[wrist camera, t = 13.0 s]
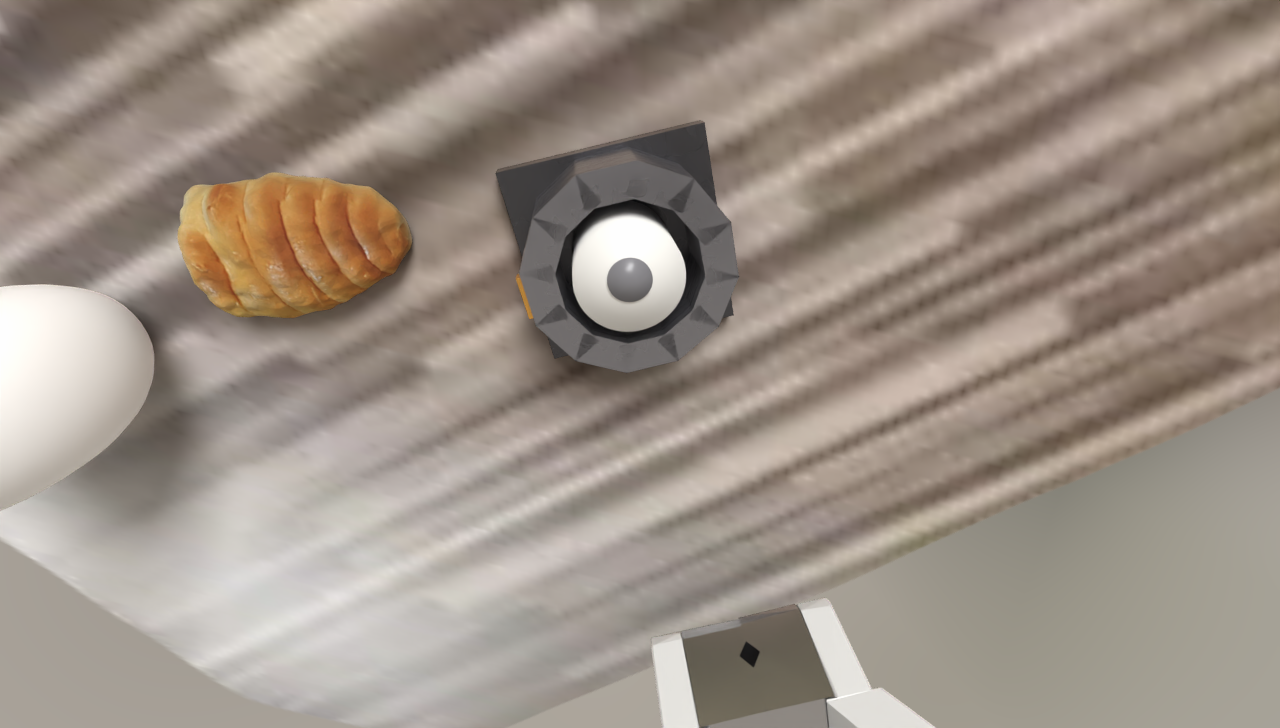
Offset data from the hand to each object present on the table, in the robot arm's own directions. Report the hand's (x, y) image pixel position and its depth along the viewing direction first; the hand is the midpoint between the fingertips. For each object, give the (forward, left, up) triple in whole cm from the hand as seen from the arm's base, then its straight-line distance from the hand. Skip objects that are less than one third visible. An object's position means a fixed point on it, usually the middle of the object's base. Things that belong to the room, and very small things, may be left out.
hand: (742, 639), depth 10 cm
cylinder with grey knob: (0, 0, -23) cm, 23 cm away
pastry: (+15, -4, -24) cm, 29 cm away
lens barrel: (0, 0, -24) cm, 24 cm away
